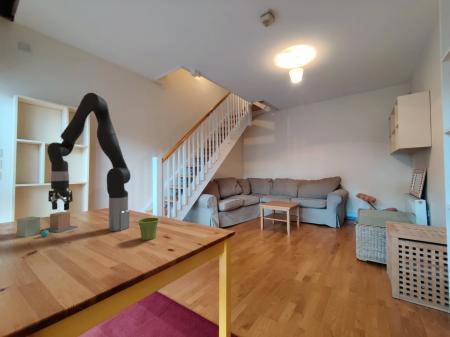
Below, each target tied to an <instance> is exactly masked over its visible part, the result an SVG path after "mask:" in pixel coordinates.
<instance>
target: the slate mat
mask: <svg viewBox="0 0 450 337" xmlns="http://www.w3.org/2000/svg"><path fill="white" fill-rule="evenodd" d="M76 228H78V226H77V225H71V224H70V227H67V228H64V229H60V230H54V229H50V227H47V228H46V227H45V228H43V229H40V232H42V231H44V230H47V231H49V233H50V232H51V233H58V234H59V233H61V232H65V231H69V230H72V229H76Z"/></svg>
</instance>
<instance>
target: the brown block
mask: <svg viewBox="0 0 450 337" xmlns="http://www.w3.org/2000/svg"><path fill="white" fill-rule="evenodd" d="M70 225H71V212H70V211H58V212H53V213H50V214H49V228H50V229H54V230H60V229H64V228H67V227H70Z"/></svg>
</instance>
